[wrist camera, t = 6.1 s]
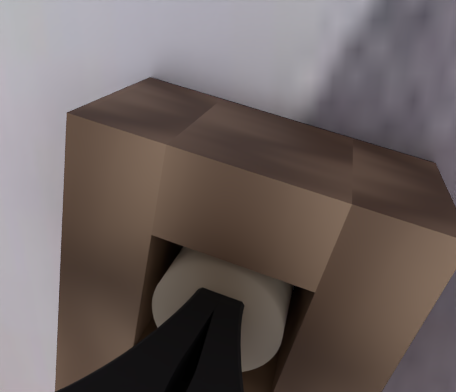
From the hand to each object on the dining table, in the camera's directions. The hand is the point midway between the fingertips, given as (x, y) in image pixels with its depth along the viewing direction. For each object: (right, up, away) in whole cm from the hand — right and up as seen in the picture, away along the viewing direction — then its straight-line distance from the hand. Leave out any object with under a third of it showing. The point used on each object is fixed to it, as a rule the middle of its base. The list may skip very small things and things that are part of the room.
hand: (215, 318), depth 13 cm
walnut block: (0, -2, +7) cm, 7 cm away
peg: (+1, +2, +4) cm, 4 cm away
